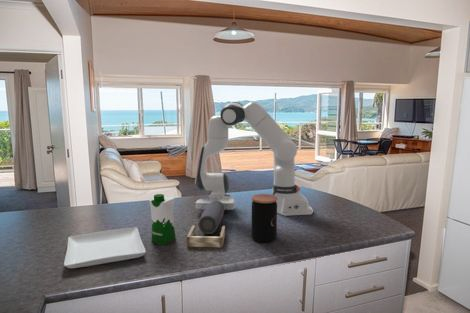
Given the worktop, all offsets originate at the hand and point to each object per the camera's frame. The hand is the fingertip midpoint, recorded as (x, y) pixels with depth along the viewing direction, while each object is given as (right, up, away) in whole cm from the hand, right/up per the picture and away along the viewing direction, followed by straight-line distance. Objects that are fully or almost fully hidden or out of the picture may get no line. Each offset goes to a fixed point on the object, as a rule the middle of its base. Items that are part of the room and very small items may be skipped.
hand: (213, 209), depth 162 cm
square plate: (-40, -11, -35) cm, 54 cm away
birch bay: (-1, -9, -25) cm, 27 cm away
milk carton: (-19, -9, -25) cm, 33 cm away
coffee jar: (+23, -9, -23) cm, 34 cm away
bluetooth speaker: (0, -7, -11) cm, 13 cm away
